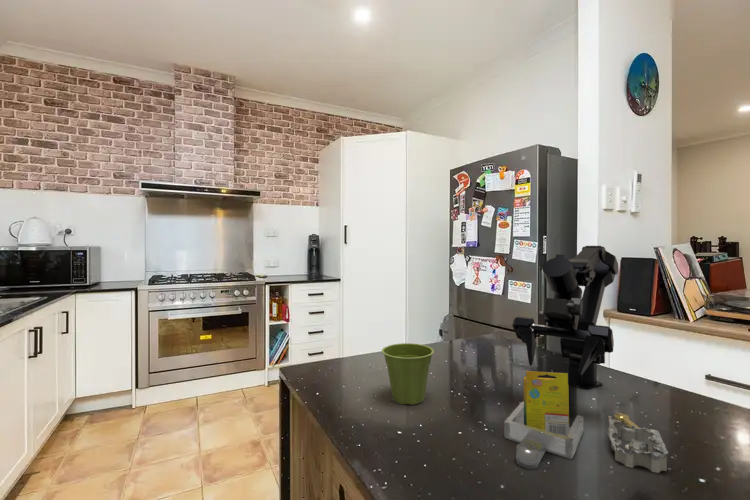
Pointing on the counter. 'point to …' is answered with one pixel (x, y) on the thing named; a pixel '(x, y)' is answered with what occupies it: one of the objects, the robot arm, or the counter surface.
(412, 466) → the counter surface
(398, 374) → the plant pot
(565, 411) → the crayon box
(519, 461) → the grey u-shaped piece
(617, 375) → the counter surface
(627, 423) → the brass key
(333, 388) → the counter surface
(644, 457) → the egg carton
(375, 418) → the counter surface
